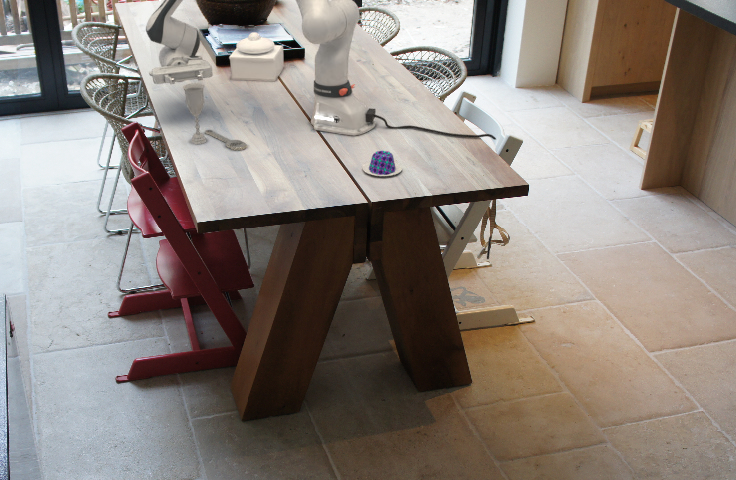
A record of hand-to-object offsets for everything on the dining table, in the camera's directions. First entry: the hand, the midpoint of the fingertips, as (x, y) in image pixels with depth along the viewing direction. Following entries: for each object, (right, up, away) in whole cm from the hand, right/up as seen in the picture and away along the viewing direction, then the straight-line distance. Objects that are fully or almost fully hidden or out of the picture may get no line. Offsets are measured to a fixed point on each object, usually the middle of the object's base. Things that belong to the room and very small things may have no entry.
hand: (186, 79), depth 278 cm
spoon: (+13, -20, 0) cm, 24 cm away
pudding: (+62, -34, -22) cm, 75 cm away
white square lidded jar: (+20, +20, +58) cm, 64 cm away
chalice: (+4, -20, 0) cm, 21 cm away
